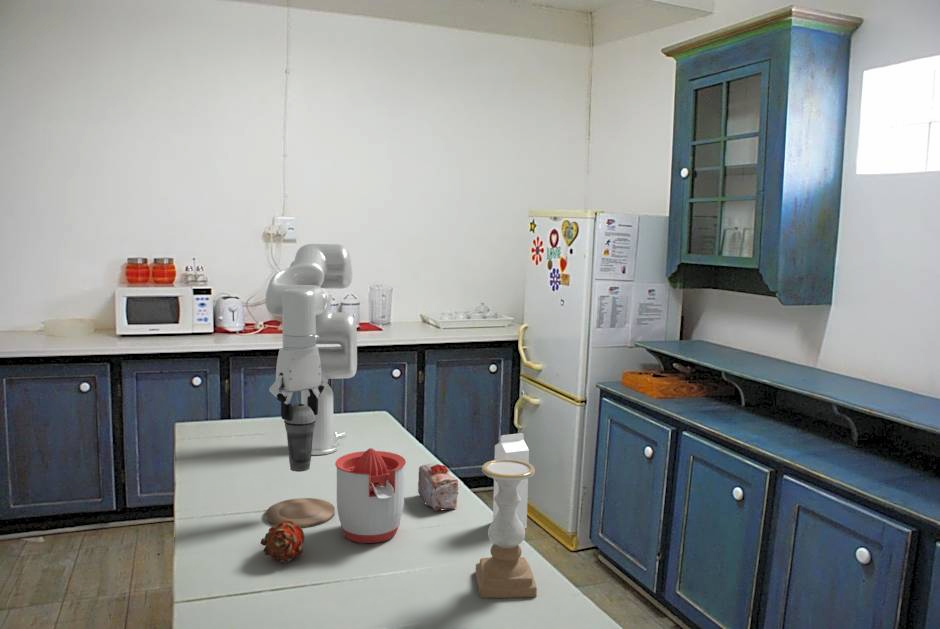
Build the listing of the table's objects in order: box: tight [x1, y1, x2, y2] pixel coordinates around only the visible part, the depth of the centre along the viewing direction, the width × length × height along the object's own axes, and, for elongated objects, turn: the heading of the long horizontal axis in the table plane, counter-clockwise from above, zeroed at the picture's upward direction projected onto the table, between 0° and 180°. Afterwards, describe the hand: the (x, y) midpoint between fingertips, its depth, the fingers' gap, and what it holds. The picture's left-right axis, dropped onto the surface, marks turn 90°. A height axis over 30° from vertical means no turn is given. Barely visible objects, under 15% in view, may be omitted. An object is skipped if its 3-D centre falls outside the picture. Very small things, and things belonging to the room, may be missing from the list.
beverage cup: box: [283, 391, 316, 473], centre depth 176 cm, size 7×7×20 cm
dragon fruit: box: [260, 520, 305, 563], centre depth 156 cm, size 8×8×12 cm
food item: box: [417, 463, 459, 511], centre depth 188 cm, size 14×8×10 cm, turn 24°
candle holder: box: [474, 459, 538, 599], centre depth 146 cm, size 11×11×24 cm
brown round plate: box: [265, 497, 336, 529], centre depth 179 cm, size 16×16×1 cm
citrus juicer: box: [334, 447, 407, 544], centre depth 167 cm, size 16×17×20 cm
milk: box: [492, 432, 530, 529], centre depth 174 cm, size 6×6×22 cm
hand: (299, 416), depth 176 cm, fingers closed on beverage cup, 6 cm apart
